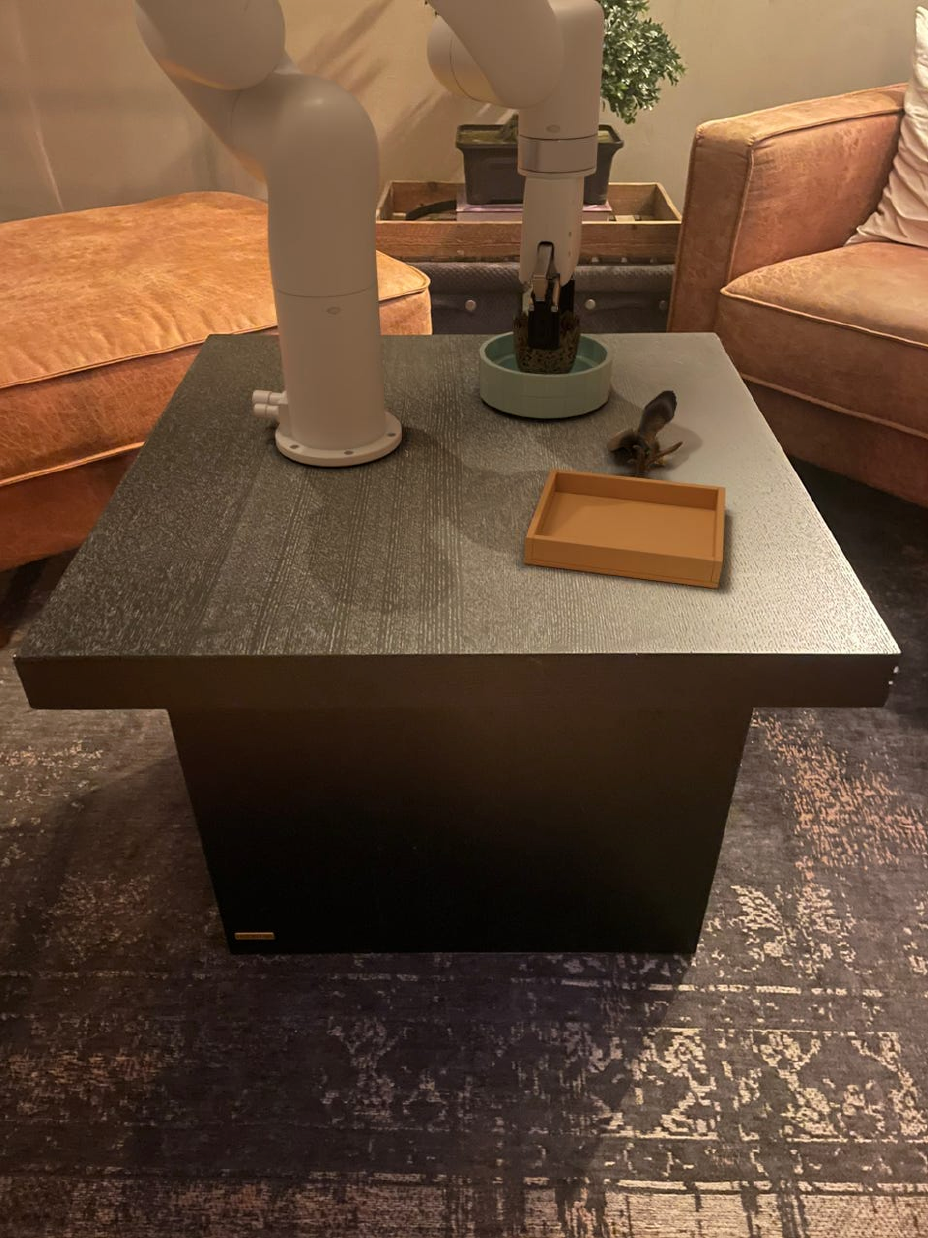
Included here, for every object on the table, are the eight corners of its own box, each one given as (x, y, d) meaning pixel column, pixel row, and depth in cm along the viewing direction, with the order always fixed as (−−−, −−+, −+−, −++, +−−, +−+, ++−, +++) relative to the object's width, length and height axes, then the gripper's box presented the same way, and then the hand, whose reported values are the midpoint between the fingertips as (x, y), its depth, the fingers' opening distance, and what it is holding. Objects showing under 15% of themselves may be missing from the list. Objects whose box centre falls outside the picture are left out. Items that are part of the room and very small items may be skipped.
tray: (524, 563, 74) (525, 536, 72) (549, 492, 83) (551, 467, 82) (717, 588, 71) (723, 561, 69) (720, 512, 80) (725, 487, 79)
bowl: (465, 415, 97) (465, 369, 94) (494, 366, 108) (495, 324, 105) (599, 428, 94) (603, 381, 92) (615, 377, 106) (619, 334, 103)
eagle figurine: (701, 474, 84) (692, 417, 90) (667, 417, 80) (660, 361, 86) (625, 507, 87) (622, 449, 93) (589, 454, 83) (588, 398, 89)
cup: (505, 379, 104) (507, 308, 99) (569, 376, 104) (574, 306, 100) (515, 406, 98) (518, 331, 93) (583, 403, 98) (589, 329, 94)
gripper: (534, 137, 95) (531, 303, 105) (499, 172, 81) (499, 359, 92) (607, 138, 93) (597, 307, 103) (584, 174, 80) (574, 365, 90)
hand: (551, 331), depth 97 cm, fingers open, 9 cm apart
